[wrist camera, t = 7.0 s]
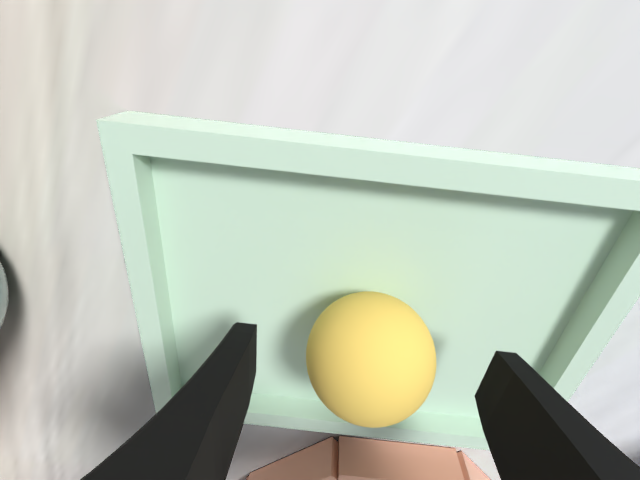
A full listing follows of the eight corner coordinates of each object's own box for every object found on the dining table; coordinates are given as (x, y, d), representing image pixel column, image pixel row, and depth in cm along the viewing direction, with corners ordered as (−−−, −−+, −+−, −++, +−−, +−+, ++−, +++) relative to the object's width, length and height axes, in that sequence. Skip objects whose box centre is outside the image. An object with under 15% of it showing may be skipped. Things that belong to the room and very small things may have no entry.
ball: (435, 277, 12) (477, 373, 8) (403, 359, 14) (426, 465, 10) (319, 258, 12) (312, 348, 8) (303, 344, 14) (291, 447, 10)
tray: (665, 171, 10) (712, 188, 9) (515, 421, 16) (531, 454, 15) (127, 110, 10) (96, 119, 9) (170, 384, 16) (156, 414, 15)
